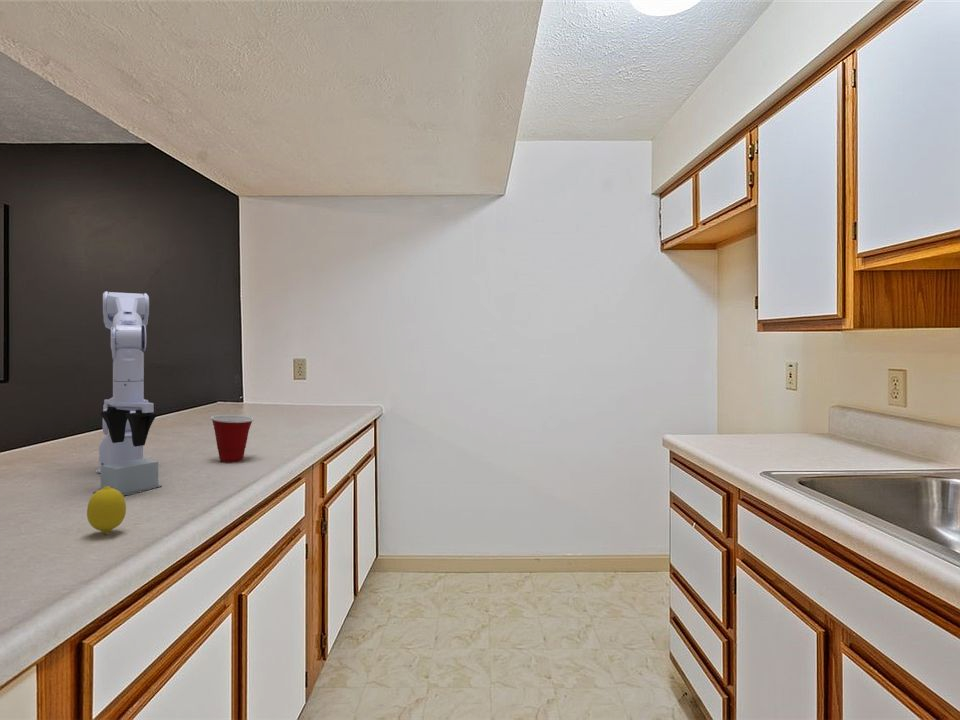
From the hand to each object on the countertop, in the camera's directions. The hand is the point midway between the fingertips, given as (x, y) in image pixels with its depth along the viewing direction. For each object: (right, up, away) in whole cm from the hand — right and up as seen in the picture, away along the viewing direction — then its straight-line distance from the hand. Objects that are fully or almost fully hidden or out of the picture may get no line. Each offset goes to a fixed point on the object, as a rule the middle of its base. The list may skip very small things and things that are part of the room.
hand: (128, 444), depth 129 cm
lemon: (+13, -11, -29) cm, 33 cm away
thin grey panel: (0, -10, 0) cm, 10 cm away
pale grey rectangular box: (0, -10, +1) cm, 10 cm away
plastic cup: (+9, -9, +33) cm, 36 cm away
